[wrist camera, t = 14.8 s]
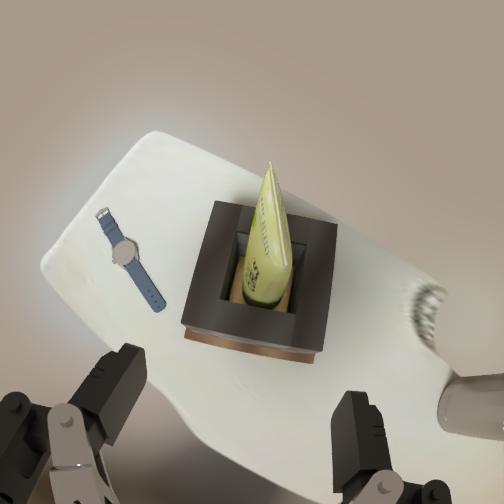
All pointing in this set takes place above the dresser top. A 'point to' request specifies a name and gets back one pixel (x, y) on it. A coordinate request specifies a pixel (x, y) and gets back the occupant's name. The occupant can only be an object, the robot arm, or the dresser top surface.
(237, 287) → the tan sandy square tile
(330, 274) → the socket
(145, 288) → the wristwatch
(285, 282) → the tube
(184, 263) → the dresser top surface
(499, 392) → the robot arm
